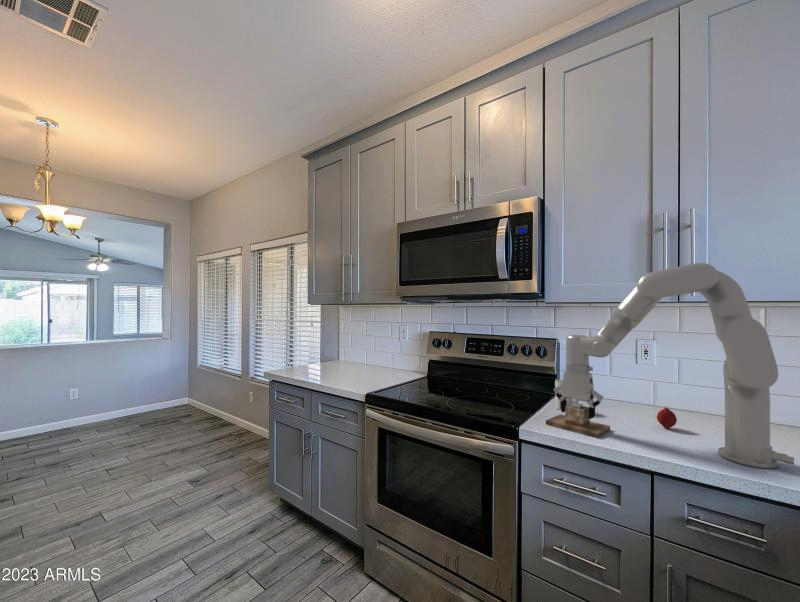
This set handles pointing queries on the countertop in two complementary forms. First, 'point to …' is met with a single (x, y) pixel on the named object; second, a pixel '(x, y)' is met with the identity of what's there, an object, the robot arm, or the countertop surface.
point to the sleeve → (577, 416)
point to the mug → (569, 400)
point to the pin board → (589, 430)
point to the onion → (666, 418)
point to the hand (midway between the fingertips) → (577, 414)
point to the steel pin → (577, 405)
